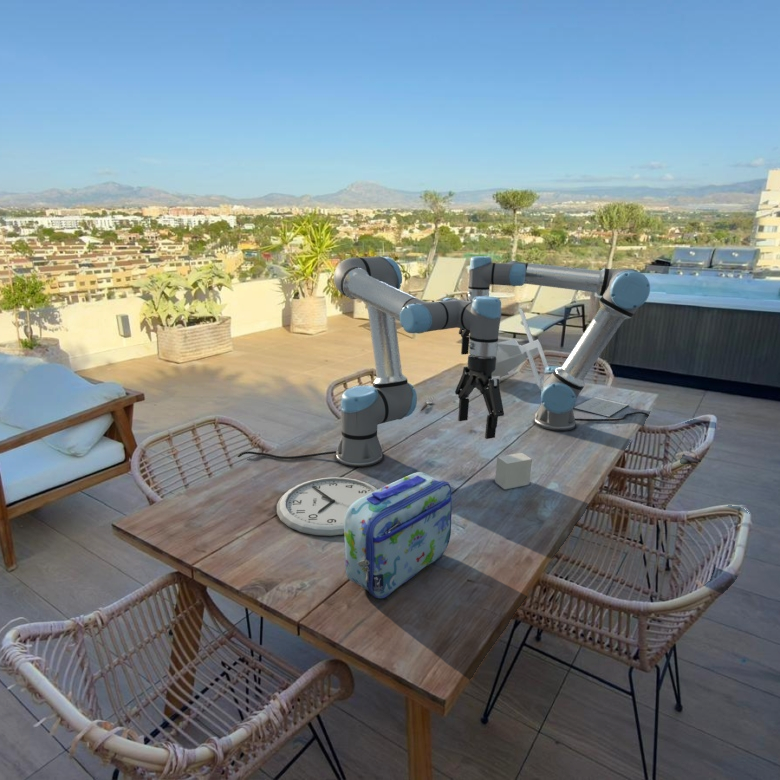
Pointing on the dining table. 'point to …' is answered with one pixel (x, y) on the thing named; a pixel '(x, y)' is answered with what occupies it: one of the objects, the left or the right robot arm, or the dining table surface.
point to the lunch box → (397, 532)
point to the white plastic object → (518, 354)
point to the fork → (427, 403)
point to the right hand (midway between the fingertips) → (474, 358)
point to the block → (513, 470)
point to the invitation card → (601, 406)
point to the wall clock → (321, 504)
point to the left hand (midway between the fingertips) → (475, 428)
